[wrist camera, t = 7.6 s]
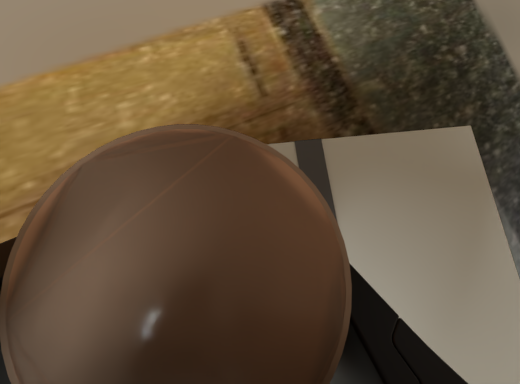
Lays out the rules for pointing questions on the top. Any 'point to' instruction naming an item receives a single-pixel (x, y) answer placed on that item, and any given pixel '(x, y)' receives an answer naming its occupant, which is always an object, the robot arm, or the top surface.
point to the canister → (177, 268)
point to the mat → (426, 239)
